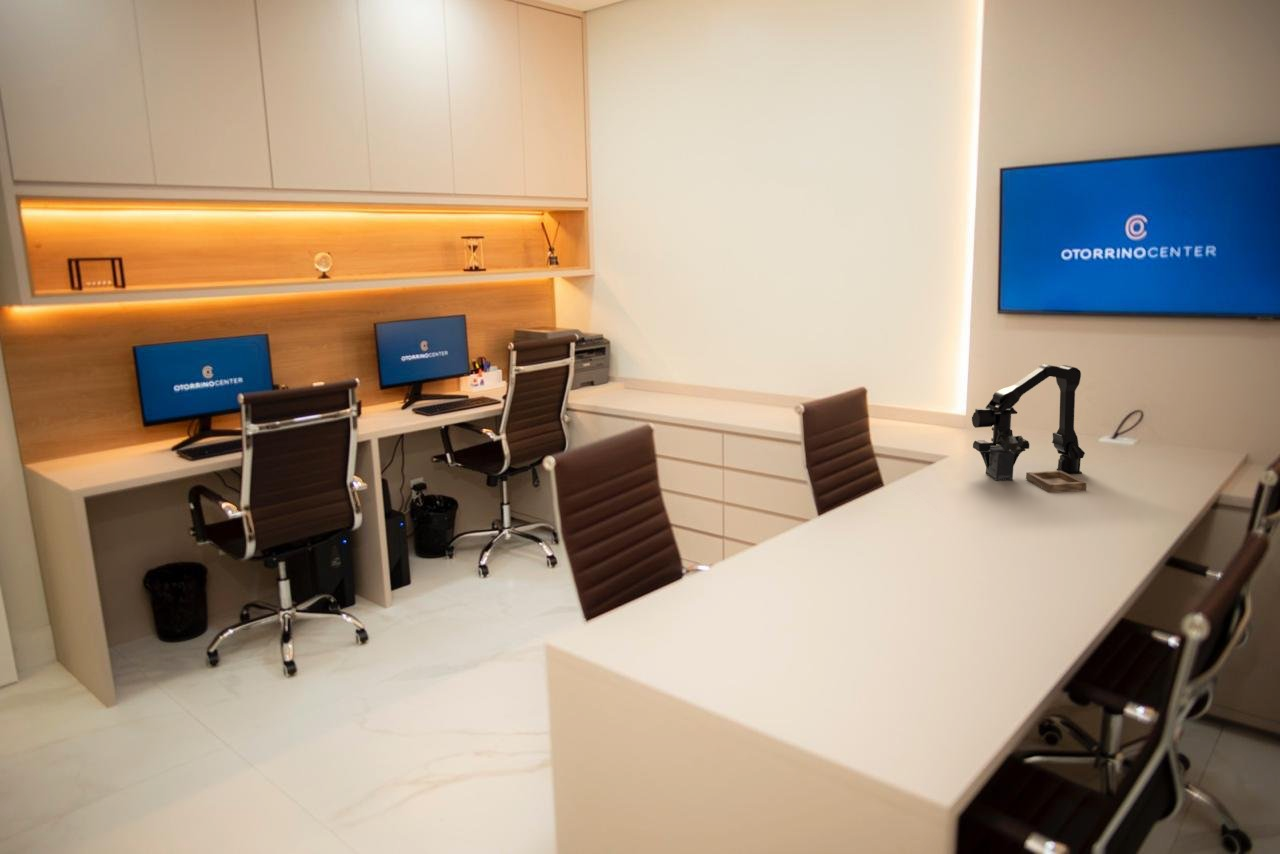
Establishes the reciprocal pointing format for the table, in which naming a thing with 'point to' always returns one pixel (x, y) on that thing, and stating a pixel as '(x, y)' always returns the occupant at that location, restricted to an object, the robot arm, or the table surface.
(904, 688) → the table surface
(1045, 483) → the walnut holder
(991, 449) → the small box
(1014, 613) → the table surface
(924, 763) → the table surface
